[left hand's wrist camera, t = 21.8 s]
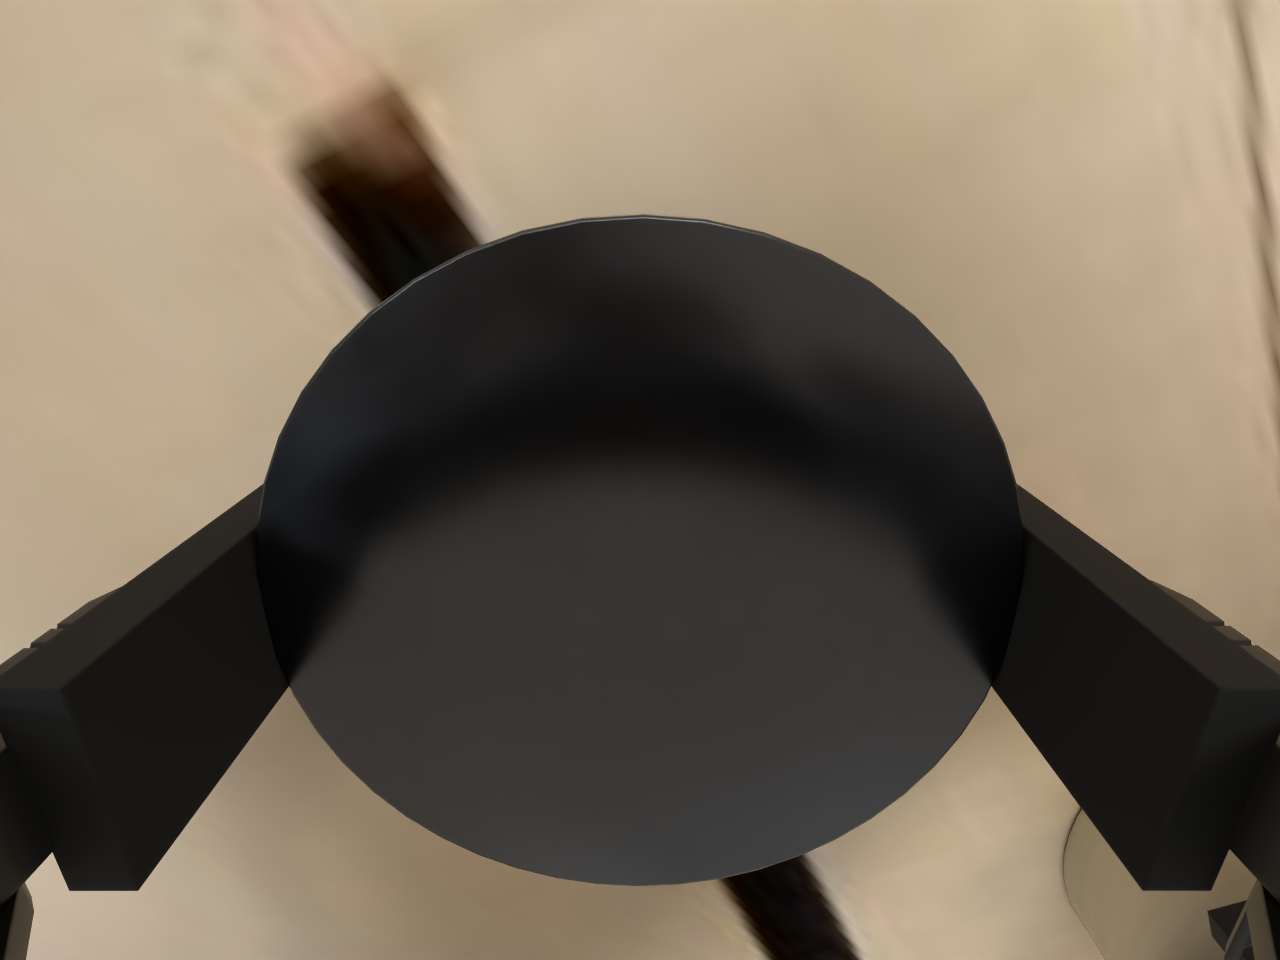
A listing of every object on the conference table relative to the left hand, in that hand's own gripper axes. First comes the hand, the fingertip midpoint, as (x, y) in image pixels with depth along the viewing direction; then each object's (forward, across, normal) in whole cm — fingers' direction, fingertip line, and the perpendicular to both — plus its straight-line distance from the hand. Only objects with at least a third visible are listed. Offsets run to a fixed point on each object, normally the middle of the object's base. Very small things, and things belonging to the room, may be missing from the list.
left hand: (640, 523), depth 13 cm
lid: (-3, 0, 0) cm, 3 cm away
